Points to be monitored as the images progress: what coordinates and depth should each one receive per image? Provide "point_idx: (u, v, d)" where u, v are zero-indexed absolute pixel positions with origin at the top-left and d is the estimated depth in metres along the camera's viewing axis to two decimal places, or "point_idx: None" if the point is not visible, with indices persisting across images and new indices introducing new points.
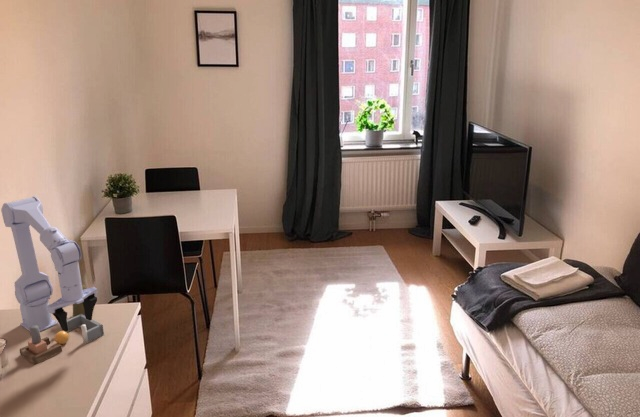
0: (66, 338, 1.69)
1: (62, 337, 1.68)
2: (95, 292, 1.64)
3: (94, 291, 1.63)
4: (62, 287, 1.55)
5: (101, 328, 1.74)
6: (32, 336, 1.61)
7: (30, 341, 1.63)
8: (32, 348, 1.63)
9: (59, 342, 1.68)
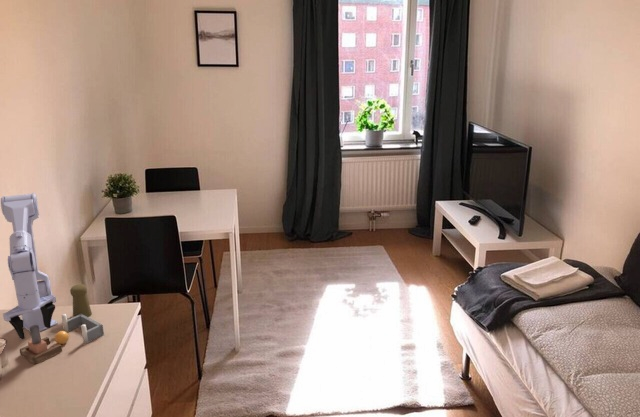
0: (66, 338, 1.69)
1: (62, 337, 1.68)
2: (53, 300, 1.64)
3: (52, 299, 1.64)
4: (18, 295, 1.56)
5: (101, 328, 1.74)
6: (32, 336, 1.61)
7: (30, 341, 1.63)
8: (32, 348, 1.63)
9: (59, 342, 1.68)
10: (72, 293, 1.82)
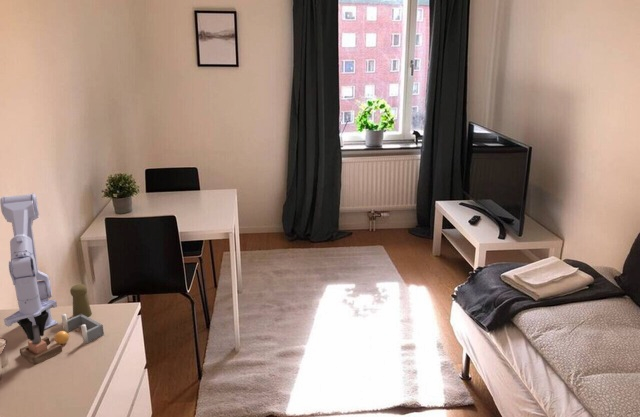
0: (66, 338, 1.69)
1: (62, 337, 1.68)
2: (54, 304, 1.65)
3: (53, 303, 1.64)
4: (19, 300, 1.56)
5: (101, 328, 1.74)
6: None
7: (30, 341, 1.63)
8: (32, 348, 1.63)
9: (59, 342, 1.68)
10: (72, 293, 1.82)
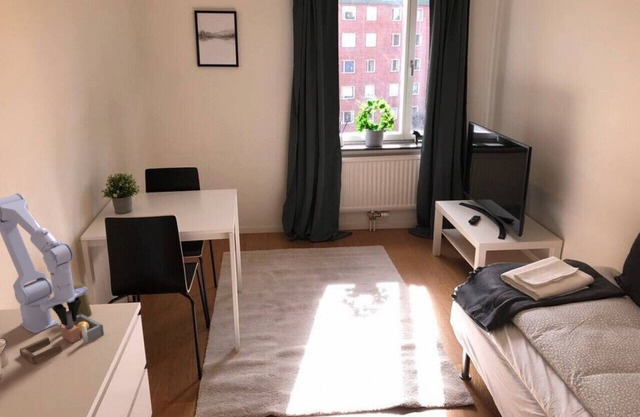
0: None
1: None
2: (86, 291, 1.73)
3: (85, 290, 1.72)
4: (54, 287, 1.64)
5: (101, 328, 1.74)
6: None
7: (63, 326, 1.71)
8: (65, 333, 1.71)
9: (89, 326, 1.76)
10: None
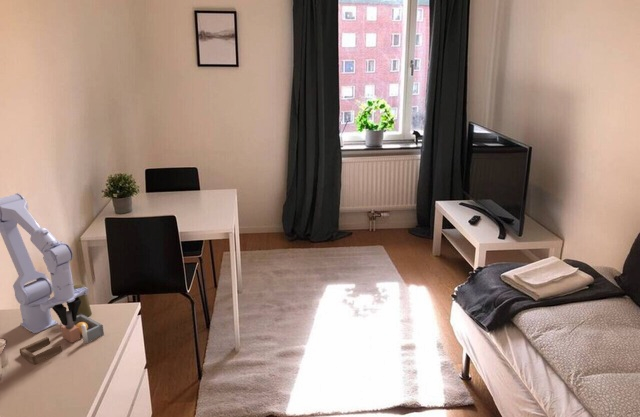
0: None
1: None
2: (86, 291, 1.73)
3: (85, 290, 1.72)
4: (54, 287, 1.64)
5: (101, 328, 1.74)
6: None
7: (63, 326, 1.72)
8: (65, 333, 1.71)
9: (87, 326, 1.75)
10: None
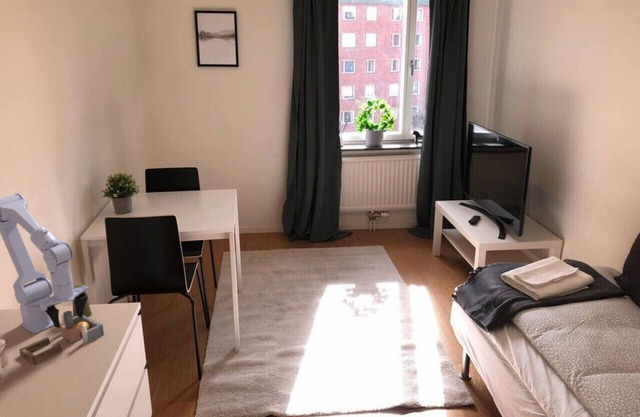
0: None
1: None
2: (86, 291, 1.73)
3: (85, 290, 1.72)
4: (54, 286, 1.64)
5: (101, 328, 1.74)
6: (65, 321, 1.70)
7: (63, 326, 1.72)
8: (65, 333, 1.71)
9: (88, 326, 1.76)
10: None
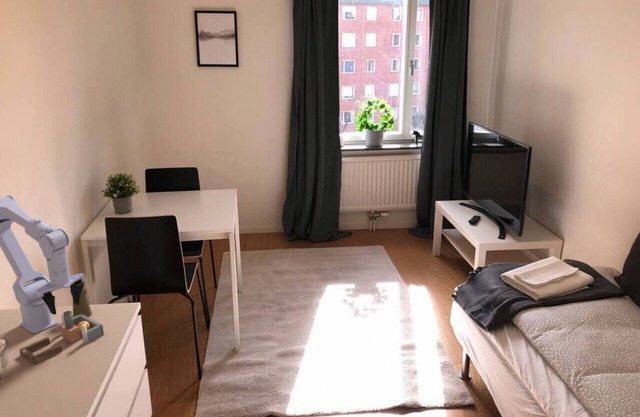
0: None
1: None
2: (82, 278, 1.73)
3: (81, 277, 1.73)
4: (50, 272, 1.64)
5: (101, 328, 1.74)
6: (65, 321, 1.70)
7: (63, 326, 1.72)
8: (65, 333, 1.71)
9: (90, 326, 1.76)
10: None
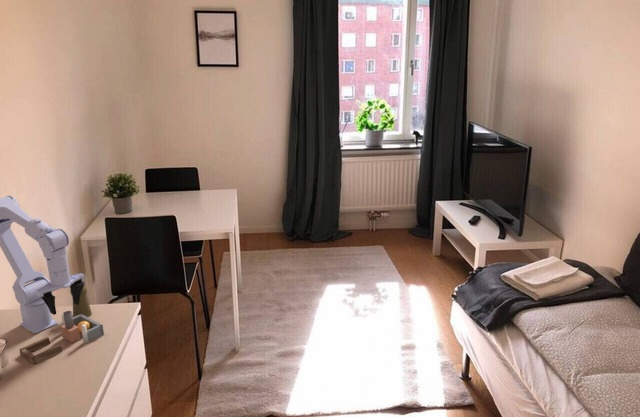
0: None
1: None
2: (82, 278, 1.73)
3: (81, 277, 1.73)
4: (50, 272, 1.64)
5: (101, 328, 1.74)
6: (65, 321, 1.70)
7: (63, 326, 1.72)
8: (65, 333, 1.71)
9: (90, 326, 1.76)
10: None
